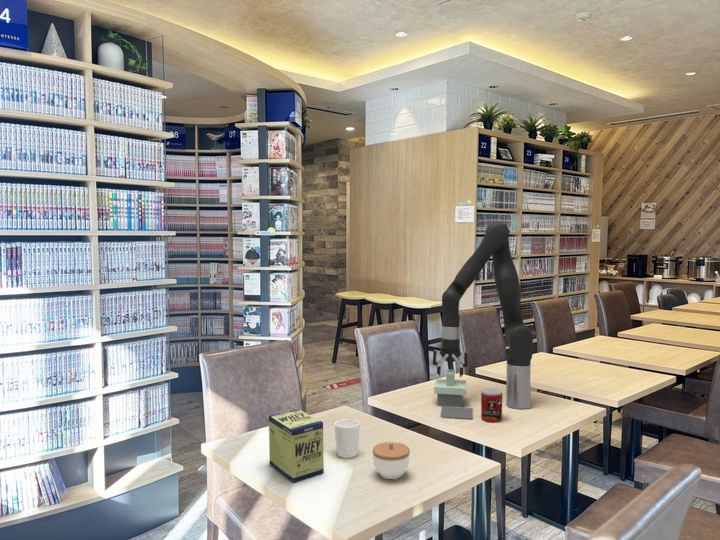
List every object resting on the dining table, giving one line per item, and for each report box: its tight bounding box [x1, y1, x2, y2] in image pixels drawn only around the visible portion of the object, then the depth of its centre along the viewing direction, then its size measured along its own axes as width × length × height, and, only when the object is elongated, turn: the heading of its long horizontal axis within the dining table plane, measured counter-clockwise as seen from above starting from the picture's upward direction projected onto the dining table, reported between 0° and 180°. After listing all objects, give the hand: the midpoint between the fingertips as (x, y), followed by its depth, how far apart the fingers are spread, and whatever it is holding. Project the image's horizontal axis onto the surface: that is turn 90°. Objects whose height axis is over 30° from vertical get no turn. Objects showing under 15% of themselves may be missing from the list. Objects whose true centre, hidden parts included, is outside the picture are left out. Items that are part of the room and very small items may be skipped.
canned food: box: [480, 387, 503, 424], centre depth 200 cm, size 8×8×11 cm
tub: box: [436, 394, 464, 408], centre depth 220 cm, size 10×10×7 cm
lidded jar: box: [372, 441, 410, 480], centre depth 155 cm, size 11×11×9 cm
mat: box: [439, 406, 474, 421], centre depth 207 cm, size 12×12×1 cm
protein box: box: [268, 408, 325, 484], centre depth 159 cm, size 10×16×16 cm
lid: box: [433, 368, 467, 396], centre depth 220 cm, size 12×12×8 cm
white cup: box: [334, 418, 360, 459], centre depth 170 cm, size 8×8×10 cm
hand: (449, 375), depth 219 cm, fingers open, 8 cm apart
